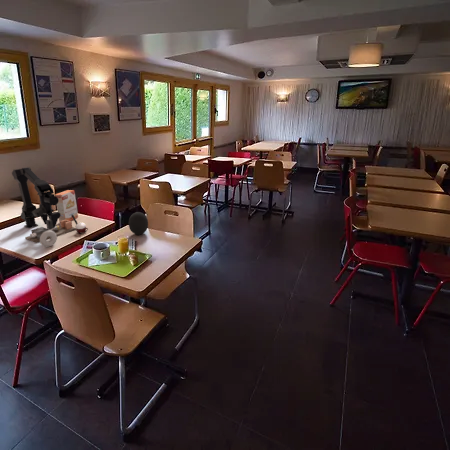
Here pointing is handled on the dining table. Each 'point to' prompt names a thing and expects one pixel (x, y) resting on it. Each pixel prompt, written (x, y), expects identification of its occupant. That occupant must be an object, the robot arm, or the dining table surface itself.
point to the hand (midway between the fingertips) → (50, 225)
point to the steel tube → (49, 226)
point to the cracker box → (67, 205)
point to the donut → (45, 235)
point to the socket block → (66, 224)
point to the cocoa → (80, 226)
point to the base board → (42, 229)
